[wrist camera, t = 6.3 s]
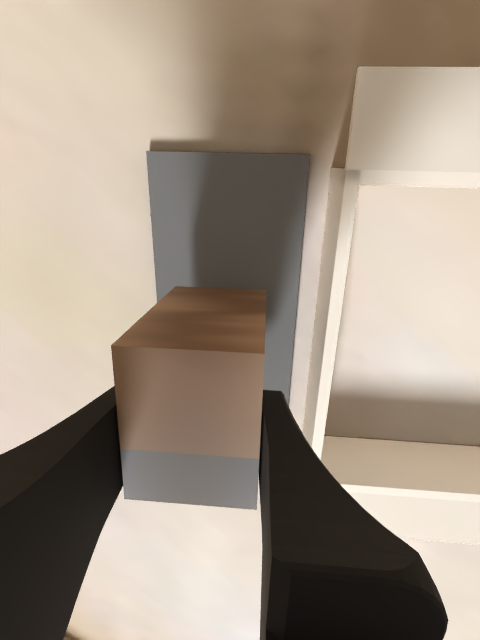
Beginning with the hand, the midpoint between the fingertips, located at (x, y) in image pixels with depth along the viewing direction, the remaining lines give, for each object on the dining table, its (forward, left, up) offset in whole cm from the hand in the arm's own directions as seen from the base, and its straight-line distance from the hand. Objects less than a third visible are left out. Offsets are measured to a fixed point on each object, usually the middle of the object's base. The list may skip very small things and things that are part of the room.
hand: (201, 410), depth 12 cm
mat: (0, 0, -8) cm, 8 cm away
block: (0, 0, -5) cm, 5 cm away
